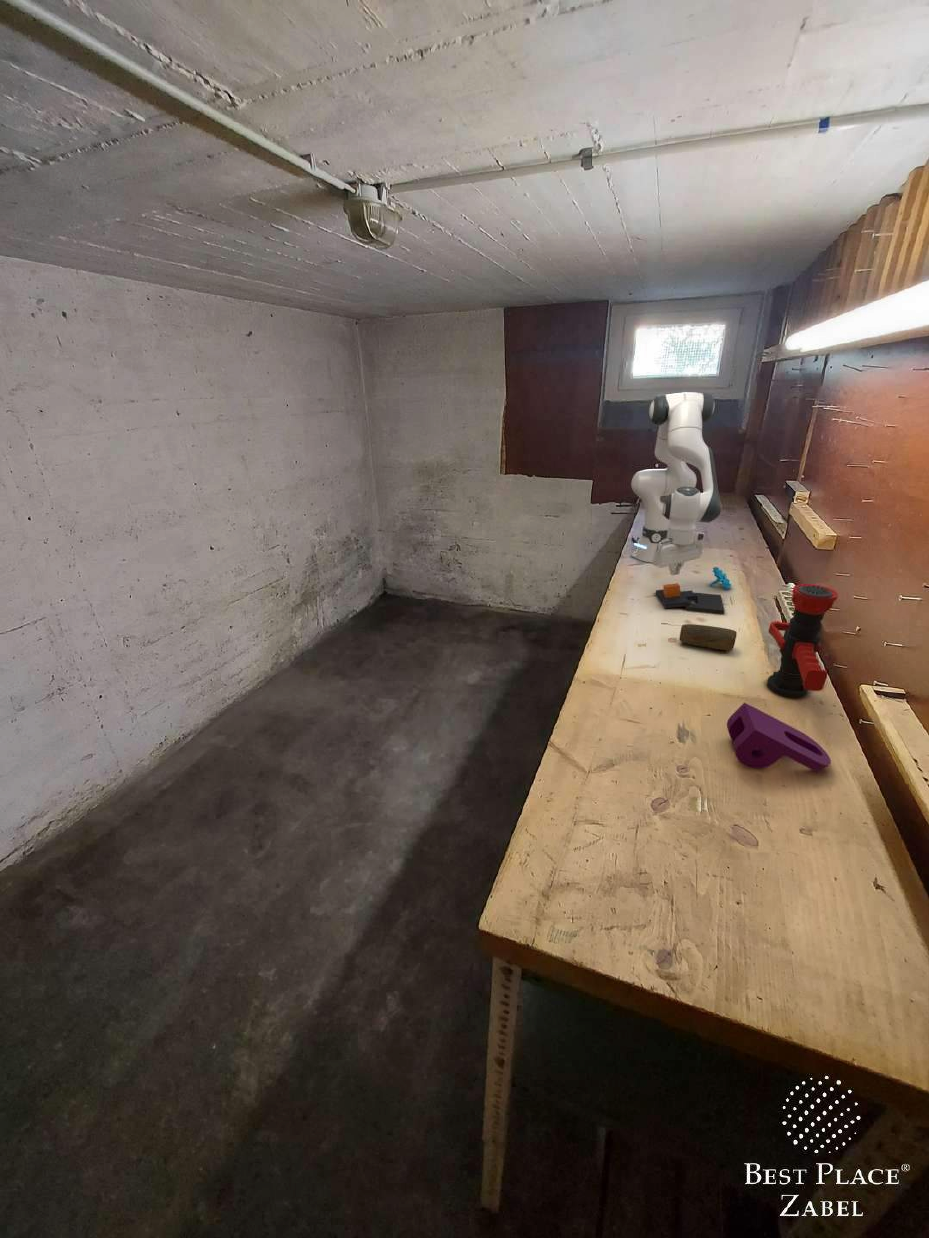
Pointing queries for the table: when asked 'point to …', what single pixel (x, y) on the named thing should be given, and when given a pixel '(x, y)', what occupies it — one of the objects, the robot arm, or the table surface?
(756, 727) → the mounting bracket
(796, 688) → the fire hose nozzle
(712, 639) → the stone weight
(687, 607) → the socket pad
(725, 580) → the gear
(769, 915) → the table surface
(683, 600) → the pad
